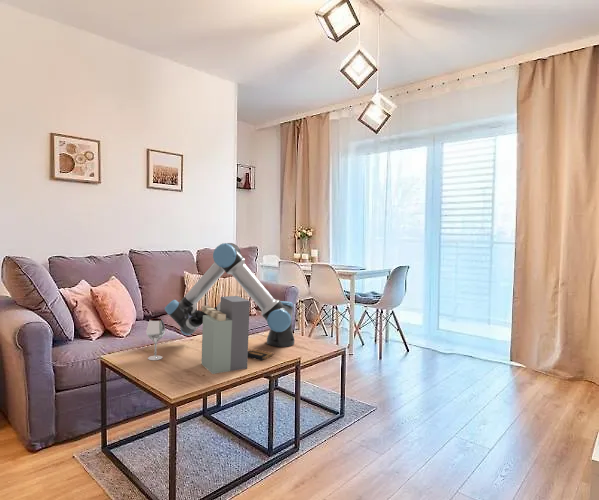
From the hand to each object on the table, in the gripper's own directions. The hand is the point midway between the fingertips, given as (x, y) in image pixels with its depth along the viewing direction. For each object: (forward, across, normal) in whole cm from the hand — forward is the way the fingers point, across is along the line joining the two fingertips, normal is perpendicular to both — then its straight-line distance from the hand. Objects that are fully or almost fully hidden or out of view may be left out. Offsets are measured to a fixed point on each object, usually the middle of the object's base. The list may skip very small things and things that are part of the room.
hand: (209, 304), depth 184 cm
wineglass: (-25, +20, -16) cm, 36 cm away
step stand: (-5, -4, -28) cm, 28 cm away
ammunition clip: (-8, -20, -25) cm, 33 cm away
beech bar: (+2, 0, -6) cm, 6 cm away
